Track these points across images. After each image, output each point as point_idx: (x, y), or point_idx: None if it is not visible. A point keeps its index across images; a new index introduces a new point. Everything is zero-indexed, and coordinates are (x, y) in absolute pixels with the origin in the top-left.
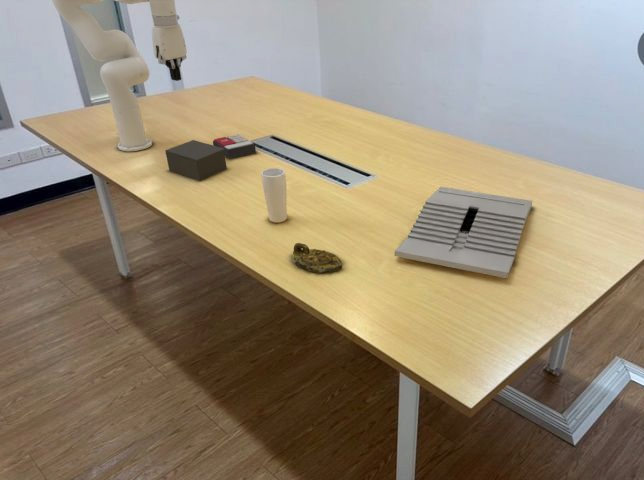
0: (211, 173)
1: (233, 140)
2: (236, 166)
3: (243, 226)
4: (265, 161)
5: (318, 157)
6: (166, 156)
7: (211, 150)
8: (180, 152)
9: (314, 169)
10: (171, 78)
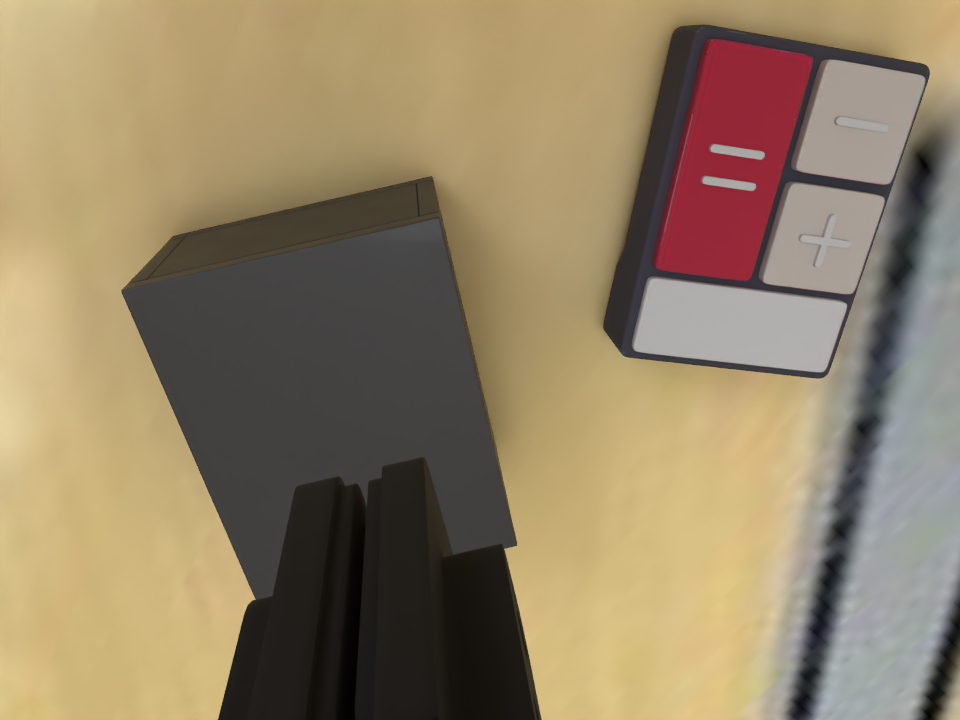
0: None
1: (782, 213)
2: (562, 451)
3: None
4: (730, 491)
5: (947, 612)
6: (138, 274)
7: None
8: (214, 419)
9: (805, 706)
10: (297, 497)
